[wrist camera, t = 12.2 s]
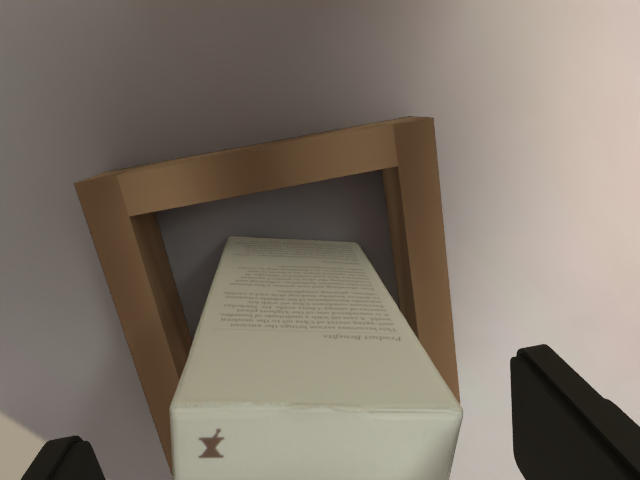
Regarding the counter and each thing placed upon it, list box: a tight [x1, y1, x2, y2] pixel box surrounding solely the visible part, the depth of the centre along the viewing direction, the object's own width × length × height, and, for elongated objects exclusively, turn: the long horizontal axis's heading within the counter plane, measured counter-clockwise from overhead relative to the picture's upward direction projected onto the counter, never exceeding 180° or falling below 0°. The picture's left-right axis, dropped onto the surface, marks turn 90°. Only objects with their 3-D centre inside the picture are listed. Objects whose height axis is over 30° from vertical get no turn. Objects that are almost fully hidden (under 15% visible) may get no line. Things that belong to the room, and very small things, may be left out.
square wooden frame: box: [74, 116, 460, 476], centre depth 19 cm, size 13×13×3 cm
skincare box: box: [169, 236, 463, 480], centre depth 15 cm, size 6×4×12 cm
